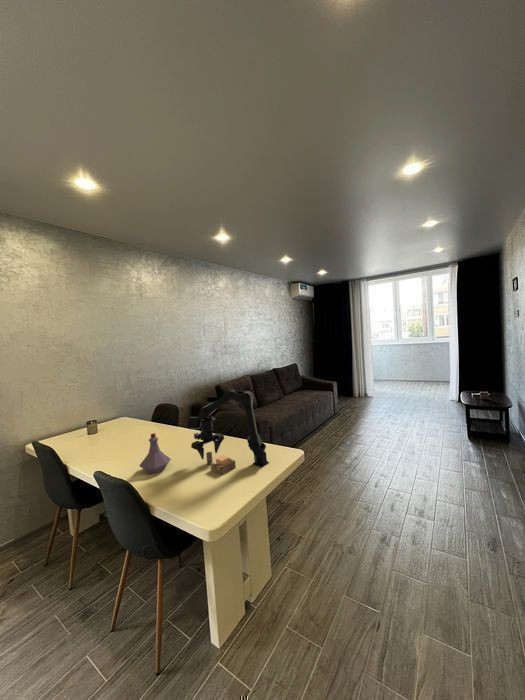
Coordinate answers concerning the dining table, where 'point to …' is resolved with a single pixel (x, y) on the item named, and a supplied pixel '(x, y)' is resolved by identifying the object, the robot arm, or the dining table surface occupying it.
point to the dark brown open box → (223, 467)
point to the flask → (154, 458)
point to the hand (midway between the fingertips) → (209, 456)
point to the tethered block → (217, 459)
